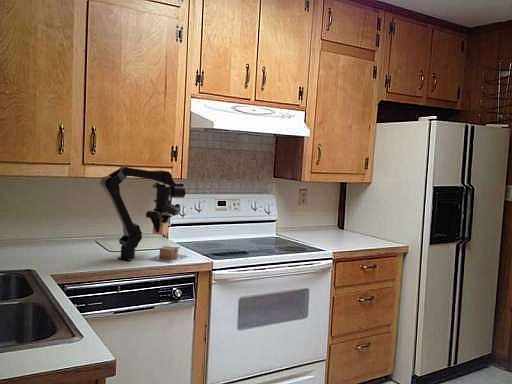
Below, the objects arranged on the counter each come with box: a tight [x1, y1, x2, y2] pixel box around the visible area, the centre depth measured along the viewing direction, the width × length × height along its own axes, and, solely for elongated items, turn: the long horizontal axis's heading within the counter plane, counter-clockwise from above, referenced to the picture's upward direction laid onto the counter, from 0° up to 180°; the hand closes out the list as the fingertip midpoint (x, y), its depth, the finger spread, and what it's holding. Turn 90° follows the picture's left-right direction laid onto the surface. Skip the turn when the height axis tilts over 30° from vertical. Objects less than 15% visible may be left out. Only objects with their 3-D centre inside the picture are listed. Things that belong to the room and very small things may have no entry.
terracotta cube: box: [152, 222, 169, 236], centre depth 226 cm, size 5×5×5 cm
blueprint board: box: [146, 253, 190, 264], centre depth 225 cm, size 18×12×1 cm, turn 161°
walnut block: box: [158, 245, 179, 261], centre depth 223 cm, size 6×6×5 cm
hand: (160, 231), depth 226 cm, fingers closed on terracotta cube, 5 cm apart
